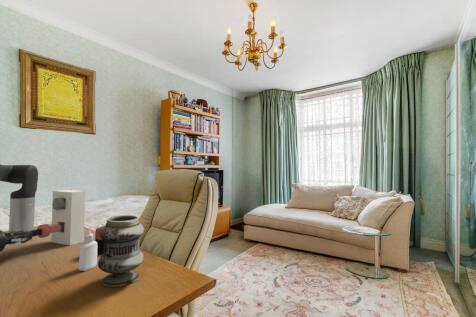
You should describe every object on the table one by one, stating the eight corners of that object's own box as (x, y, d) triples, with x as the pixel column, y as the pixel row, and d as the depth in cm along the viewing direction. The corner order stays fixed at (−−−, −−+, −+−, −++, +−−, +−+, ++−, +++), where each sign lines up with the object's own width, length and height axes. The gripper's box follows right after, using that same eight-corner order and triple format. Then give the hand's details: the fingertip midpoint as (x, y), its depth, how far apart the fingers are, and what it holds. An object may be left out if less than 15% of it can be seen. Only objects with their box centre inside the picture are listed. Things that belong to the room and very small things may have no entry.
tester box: (70, 245, 102) (71, 192, 103) (51, 242, 106) (52, 191, 107) (83, 241, 107) (85, 191, 108) (65, 238, 112) (66, 189, 113)
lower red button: (44, 238, 96) (45, 225, 96) (36, 237, 98) (37, 224, 98) (62, 234, 103) (63, 222, 103) (54, 232, 104) (55, 221, 105)
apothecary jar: (113, 294, 64) (115, 224, 64) (88, 282, 70) (90, 218, 71) (151, 276, 74) (153, 216, 74) (127, 267, 80) (128, 212, 81)
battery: (117, 250, 96) (118, 225, 96) (98, 255, 91) (99, 228, 91) (113, 248, 99) (113, 223, 99) (94, 252, 94) (95, 226, 94)
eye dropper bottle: (100, 267, 81) (101, 230, 81) (80, 272, 76) (82, 233, 77) (94, 263, 83) (95, 227, 84) (75, 268, 79) (77, 231, 79)
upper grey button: (60, 210, 102) (60, 198, 102) (52, 209, 103) (52, 197, 104) (76, 208, 108) (76, 196, 108) (68, 207, 110) (69, 196, 110)
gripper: (-6, 235, 79) (52, 223, 95) (-28, 230, 83) (30, 220, 100) (-7, 258, 78) (51, 243, 95) (-29, 253, 83) (30, 239, 99)
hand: (40, 231), depth 97 cm, fingers closed
